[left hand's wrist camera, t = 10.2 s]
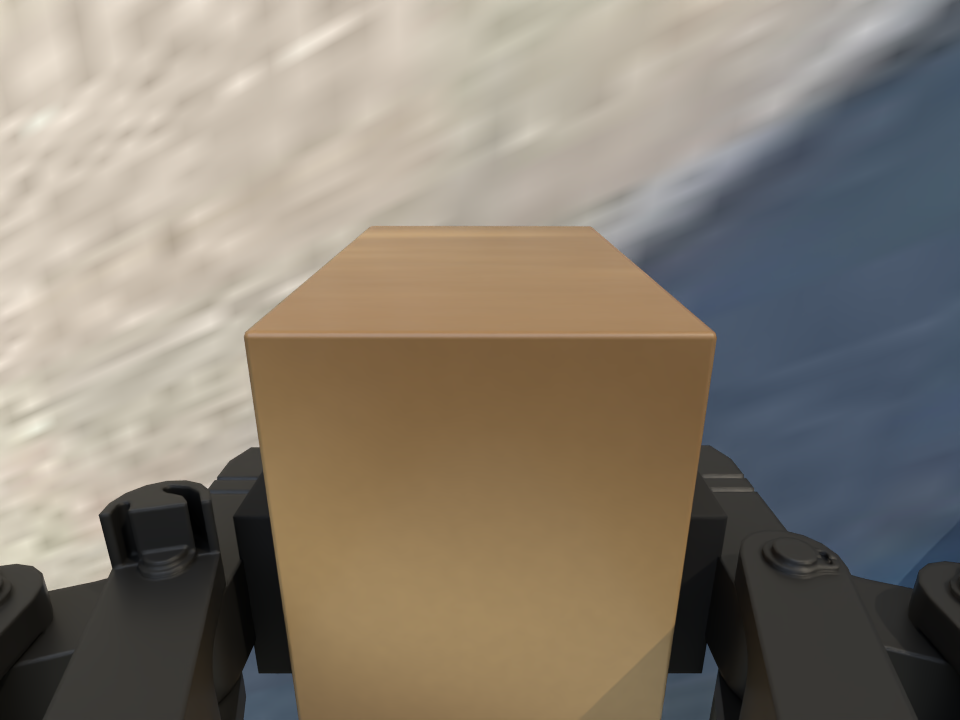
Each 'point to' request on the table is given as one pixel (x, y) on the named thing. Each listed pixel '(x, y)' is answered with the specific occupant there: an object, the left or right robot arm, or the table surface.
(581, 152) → the table surface
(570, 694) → the beam
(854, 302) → the table surface
